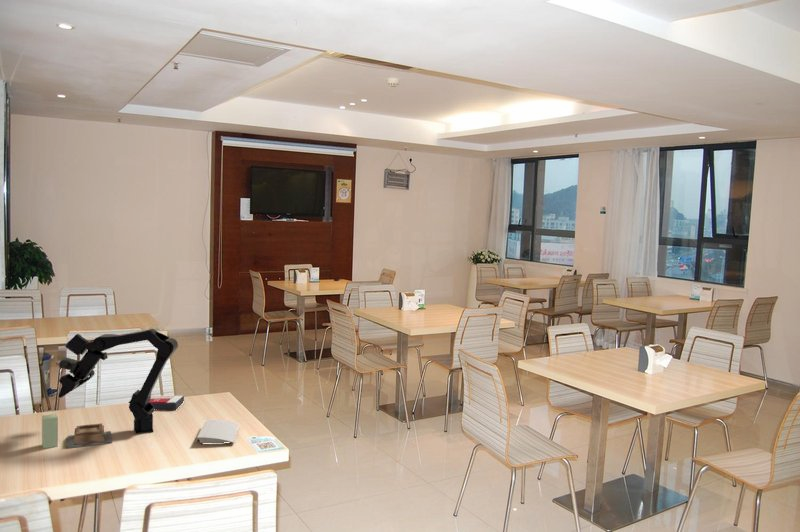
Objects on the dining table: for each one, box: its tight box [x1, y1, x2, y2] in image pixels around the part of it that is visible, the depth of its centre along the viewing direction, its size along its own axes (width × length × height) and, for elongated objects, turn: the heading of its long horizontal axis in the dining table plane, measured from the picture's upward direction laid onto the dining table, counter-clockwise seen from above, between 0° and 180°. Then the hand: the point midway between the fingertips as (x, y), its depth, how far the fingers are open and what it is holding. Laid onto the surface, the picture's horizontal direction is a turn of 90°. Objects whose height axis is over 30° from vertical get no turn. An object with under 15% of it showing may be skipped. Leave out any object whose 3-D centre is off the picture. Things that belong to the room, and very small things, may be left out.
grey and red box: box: [150, 394, 185, 411], centre depth 275 cm, size 11×4×15 cm
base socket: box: [65, 422, 113, 449], centre depth 231 cm, size 15×12×5 cm
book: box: [195, 418, 239, 444], centre depth 241 cm, size 15×23×4 cm, turn 8°
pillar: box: [41, 413, 59, 450], centre depth 225 cm, size 5×5×11 cm
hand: (65, 393), depth 240 cm, fingers open, 9 cm apart
